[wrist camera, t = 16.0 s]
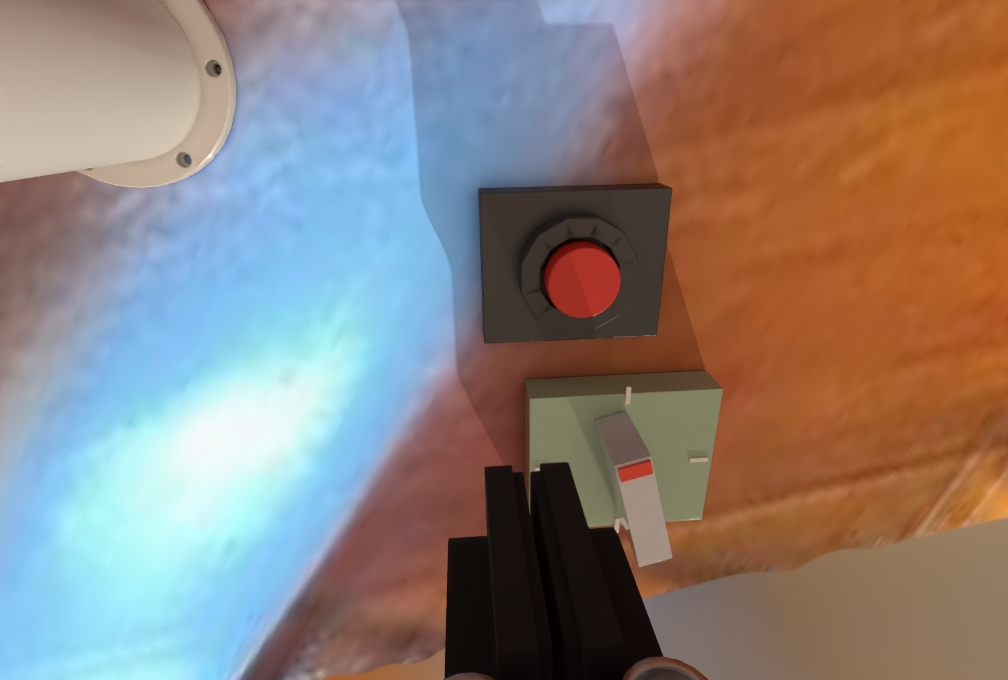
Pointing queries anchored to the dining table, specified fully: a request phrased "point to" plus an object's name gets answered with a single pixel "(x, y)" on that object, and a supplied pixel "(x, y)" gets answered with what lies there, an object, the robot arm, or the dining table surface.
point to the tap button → (582, 279)
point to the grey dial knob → (634, 488)
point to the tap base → (658, 419)
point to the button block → (549, 226)
